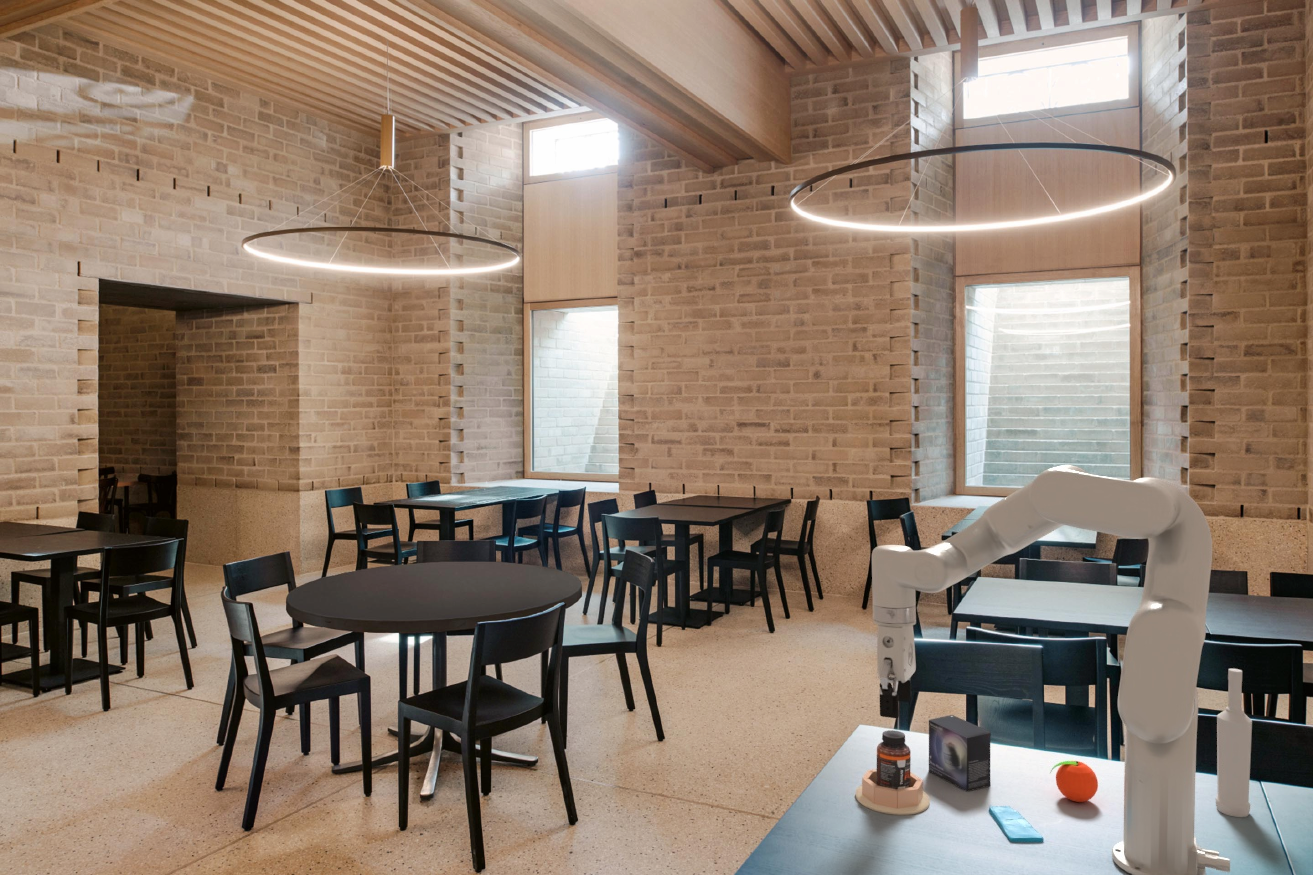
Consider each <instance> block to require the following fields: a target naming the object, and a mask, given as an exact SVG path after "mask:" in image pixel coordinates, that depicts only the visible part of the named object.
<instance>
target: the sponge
mask: <svg viewBox="0 0 1313 875" xmlns="http://www.w3.org/2000/svg"><path fill="white" fill-rule="evenodd" d="M988 813H989V815H990V816H991V817H992V819H993V820H994V821H995V823H996V824H997V825H998V826H999V828H1000V830H1001V831H1002V833H1004V836H1006V838H1007V839H1008V841H1009V842H1011V843H1044V836H1042V835H1041V833H1039V832H1038V831H1037V830H1036V829H1035V828H1034V827H1033V826H1032V825H1031V824H1030V823H1029V821H1028V820H1027V819H1025V817H1023V816H1022V814H1021V813H1020V812H1018V810H1016V809H1013V808H1012V807H1011V806H1010V805H1008V806H1007V805H1001V806H1000V805H999V806H997V805H995V806H994V805H990V806H989V809H988Z"/></svg>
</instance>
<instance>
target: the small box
mask: <svg viewBox="0 0 1313 875" xmlns="http://www.w3.org/2000/svg"><path fill="white" fill-rule="evenodd" d="M991 737H992V733H991V731H990V730H988V729H986V728H983V727H981V726H979V725H976V724H974V723H972V722H969V721H967V720H965V719H963V718H960V717H959V716H955V715H953V714H950V715H945V716H939V717H936V718H931V719H929V720H928V772H930V773H932V774H933V775H936V776H937V777H939V778H941V779H943V780H945V781H946V782H949V783H950V784H952V785H953V786H955V787H958V788H959V789H961V790H963V791H965V792H971V791H975V790H979V789H983V788H988V787H991V782H992V781H991Z"/></svg>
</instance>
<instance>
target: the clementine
mask: <svg viewBox="0 0 1313 875" xmlns="http://www.w3.org/2000/svg"><path fill="white" fill-rule="evenodd" d="M1056 767H1058V769H1057V771H1056V774H1055V781H1056V786H1057V789H1058V790H1059V792H1060V793H1061V794H1062V795H1063V796H1064V797H1065V798H1066V799H1067V800H1070V801H1073V802H1076V803H1084V802H1087V801H1090V800H1091V799H1093V797H1095V795H1096V794H1097V791H1098V787H1099V785H1098V784H1099V783H1098V778H1097V776H1096V772H1094V770H1093V769H1092V768H1091V766H1088V765H1087V764H1086V763H1084V762H1082V761H1078V760H1065V761H1064V760H1063V761H1061V762H1059V763H1057V764H1054V766H1053V767H1052V768H1051V770H1050V773H1049V774H1051V773H1052V772H1053V770H1054V769H1055V768H1056Z"/></svg>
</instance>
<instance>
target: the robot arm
mask: <svg viewBox="0 0 1313 875" xmlns="http://www.w3.org/2000/svg"><path fill="white" fill-rule="evenodd" d="M1063 526H1069V527H1073V528H1076V529H1082V530H1087V531H1092V532H1098V533H1103V534H1108V535H1113V536H1117V537H1123V538H1126V539H1127V538H1128V539H1135V540H1136V539H1138V540H1144V539H1145V540H1146V539H1147V540H1148V552H1147V560H1146V565H1145V577H1144V584H1143V590H1142V595H1141V601H1140V604H1139V607H1138V608H1137V610H1136V611H1135V614H1134V615H1133V616H1132V617H1131V620H1130V621H1129V625H1128V628H1127V631H1126V638H1125V643H1124V650H1123V659H1122V666H1121V671H1120V672H1121V674H1120V680H1119V687H1118V696H1117V711H1118V715H1119V717H1120V719H1121V721H1122V723H1123V725H1124V726H1125V738H1124V739H1125V742H1124V743H1125V744H1124V745H1125V746H1124V780H1123V782H1124V784H1123V785H1124V786H1123V787H1124V788H1123V789H1124V792H1123V794H1124V795H1123V840H1122V841H1120V842H1117V843H1115V845H1113V847H1112V849H1111V850H1112V851H1111V852H1112V854H1111V855H1112V856H1111V857H1112V859H1113V861H1114V863H1115V864H1116V865H1117V866H1118V867H1119V868H1120V869H1122V870H1123V871H1125V872H1126V873H1128V874H1130V875H1206V871H1207V870H1206V868H1210V869H1213V870H1216V871H1221V872H1225V873H1230V872H1231V861H1230V858H1227V857H1223V856H1220V851H1217V850H1214V849H1212V850H1211V849H1205V848H1202V847H1201V846H1199V845H1197V838H1196V836H1195V820H1196V819H1195V817H1196V816H1195V815H1196V813H1195V812H1196V811H1195V810H1196V809H1195V808H1196V772H1197V771H1196V768H1197V767H1196V766H1197V739H1198V737H1197V735H1198V733H1197V732H1198V720H1199V718H1198V717H1199V694H1198V689H1197V683H1198V675H1199V670H1200V663H1201V658H1202V656H1201V655H1202V650H1203V646H1204V643H1205V639H1206V633H1207V632H1206V630H1207V629H1206V618H1207V615H1206V614H1207V608H1208V607H1207V606H1208V600H1209V599H1208V598H1209V592H1210V580H1211V572H1212V564H1213V540H1212V539H1213V538H1212V532H1211V529H1210V525H1209V522H1208V520H1207V517H1206V516H1205V514H1204V512H1203V510H1202V509H1201V507H1200V506H1199V505H1198V503H1197V502H1196V501H1195V500H1194V499H1193V497H1191V496H1190V495H1189V494H1187V493H1186V492H1185V491H1184V490H1182V489H1181V488H1179V487H1178V486H1177V485H1175V484H1173V483H1171V482H1169V481H1167V480H1164V479H1161V478H1157V477H1140V478H1137V479H1134V480H1129V479H1123V478H1117V477H1108V476H1102V475H1097V474H1091V473H1088V472H1087V471H1086V470H1084V469H1083V468H1081V467H1079V466H1076V465H1072V464H1071V465H1070V464H1063V465H1062V464H1061V465H1058V466H1054V467H1050V468H1048V469H1045V470H1044V471H1042V472H1040V473H1039V474H1038V475H1037V476H1036V477H1035V478H1034V479H1033V480H1032V481H1030V482H1028V483H1027V484H1026V485H1024V486H1023V487H1020V488H1019V489H1017V490H1016V491H1014V492H1013V493H1010V494H1009V495H1008V496H1006V497H1004V498H1002V499H1000V500H998V501H997V502H995V503H994V504H992V505H990V506H989V507H988V508H986V509H985V510H984V511H983V513H982V514H981V516H980V517H979V518H978V519H977V520H976V521H974V522H973V523H971V524H970V525H968V526H967V527H965V528H964V529H962V530H961V531H959V532H957V533H955V534H953V535H952V536H950V537H948V538H947V539H945V540H943V541H941V542H939V543H938V544H935V545H931V546H929V547H927V548H923V549H919V550H913V549H912V548H911V547H910V546H906V545H901V544H899V545H898V544H885V545H878V546H876V547H875V548H873V550H872V551H871V552H872V553H871V577H872V579H871V586H872V587H871V588H872V589H871V592H872V623H873V624H875V625H877V636H876V638H877V641H876V642H877V644H876V645H877V646H876V653H877V654H876V668H877V677H878V678H879V680H880V683H879V691H878V692H879V715H880V717H883V718H890V719H891V718H892V719H898V718H899V716H900V709H899V708H900V706H899V704H900V703H899V702H903V703H910V702H912V681H911V677H912V676H913V674H915V672H916V669H917V663H916V647H915V634H914V625H916V624H917V614H916V612H917V610H916V604H917V601H916V600H917V599H916V591H918V592H921V593H928V594H934V593H940V592H942V591H944V590H946V589H948V588H950V587H951V586H953V585H955V584H957V583H959V582H961V581H962V580H965V579H966V578H967V577H969V576H972V575H973V574H974V573H977V572H978V571H980V570H981V569H983V568H986V567H987V566H989V565H991V564H993V563H994V562H996V561H998V560H999V559H1001V558H1004V557H1005V556H1008V555H1012V554H1015V553H1017V552H1019V551H1021V550H1022V549H1024V548H1026V547H1028V546H1029V545H1031V544H1033V543H1035V542H1036V541H1038V540H1039V539H1042V538H1043V537H1045V536H1047V535H1048V534H1050V533H1052V532H1054V531H1056V530H1057V529H1060V528H1061V527H1063Z"/></svg>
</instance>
